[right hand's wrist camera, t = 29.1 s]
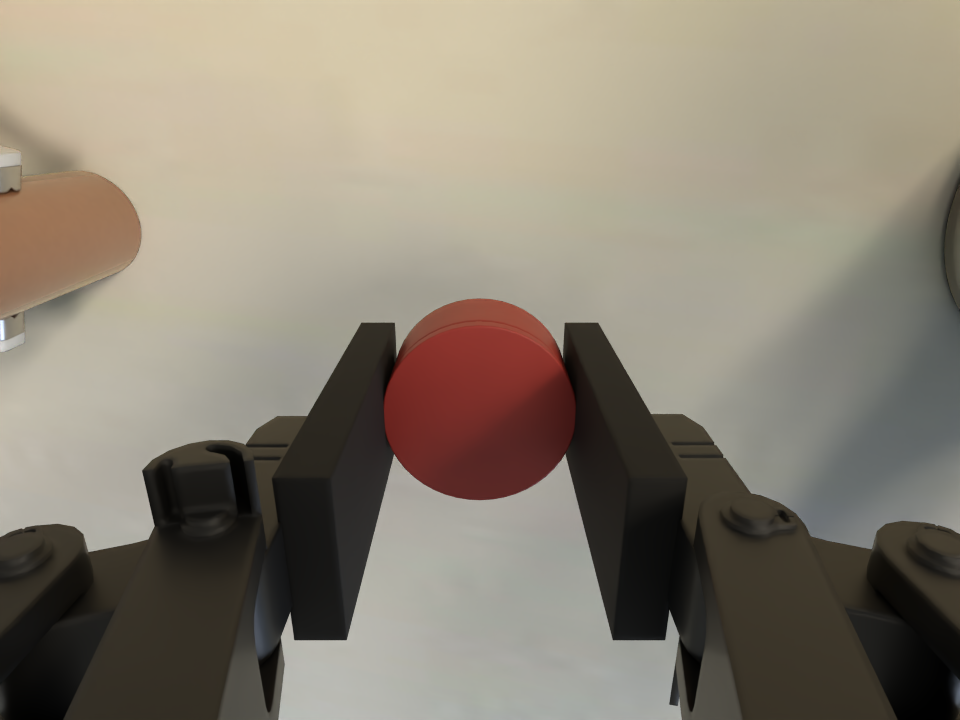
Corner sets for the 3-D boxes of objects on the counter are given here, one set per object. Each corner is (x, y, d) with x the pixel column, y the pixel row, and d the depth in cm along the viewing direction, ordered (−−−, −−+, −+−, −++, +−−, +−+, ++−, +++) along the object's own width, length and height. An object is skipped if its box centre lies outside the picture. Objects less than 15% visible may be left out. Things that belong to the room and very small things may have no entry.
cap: (542, 277, 13) (552, 302, 12) (580, 432, 15) (594, 477, 13) (372, 323, 14) (355, 354, 12) (424, 469, 15) (416, 518, 13)
